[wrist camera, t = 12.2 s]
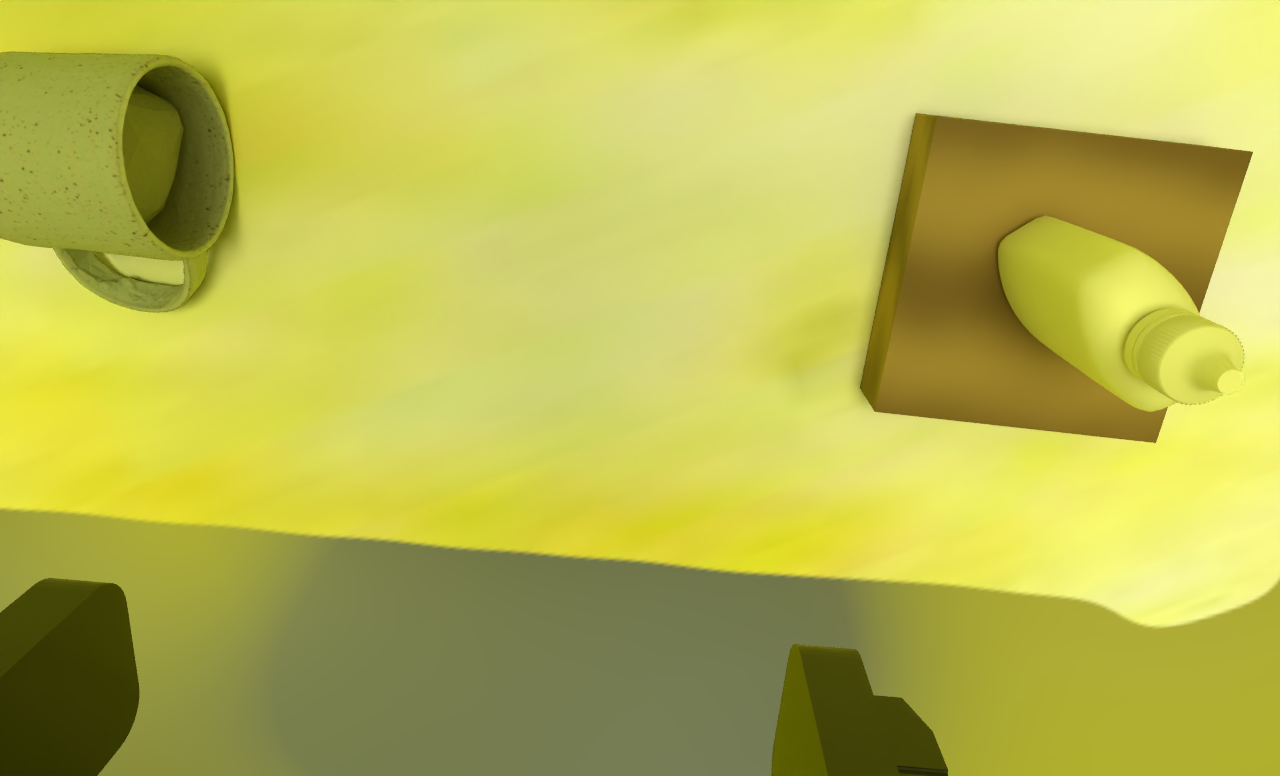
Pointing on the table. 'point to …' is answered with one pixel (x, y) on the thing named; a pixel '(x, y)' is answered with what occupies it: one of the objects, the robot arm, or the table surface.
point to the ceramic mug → (114, 166)
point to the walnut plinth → (969, 273)
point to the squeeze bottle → (1116, 316)
